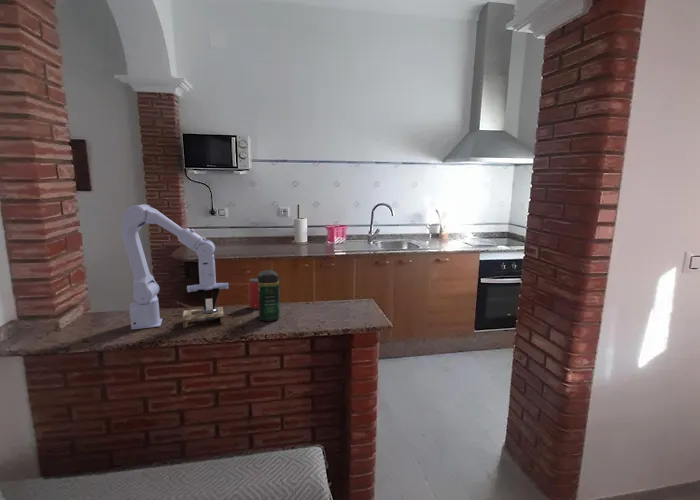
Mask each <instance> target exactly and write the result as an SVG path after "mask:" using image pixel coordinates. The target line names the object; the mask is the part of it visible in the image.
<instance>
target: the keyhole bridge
mask: <svg viewBox="0 0 700 500" xmlns="http://www.w3.org/2000/svg"><path fill="white" fill-rule="evenodd" d="M217 308H218V312H216V313H212V314H203V313H201V309H202V308H199V309H198V308H197V309H189V310H188V309H187V310H183V314H182V328H183V329H187V328H188V322H189V320H197V319H205V318H208V317H215V318H217V317H219V321H220V322H219V323H220V324H221V325H224V324H225V318H224V317H225V316H224V307H223V306H220V307H219V306H218V307H217Z"/></svg>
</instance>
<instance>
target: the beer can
mask: <svg viewBox="0 0 700 500" xmlns="http://www.w3.org/2000/svg"><path fill="white" fill-rule="evenodd" d="M248 281H249V282H248V286H247V287H248V288H247V289H248V307H249V308H250V309H252V310H259V298H258V277H253V278H250V279H249V280H248ZM255 305H256V306H255Z"/></svg>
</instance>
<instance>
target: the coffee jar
mask: <svg viewBox="0 0 700 500" xmlns="http://www.w3.org/2000/svg"><path fill="white" fill-rule="evenodd" d="M257 278H258V298H259V309H258V318H259V320H260V321H263V322H265V321H266V322H273V321H276V320H278V319H280V279H279V274H278V273H277V272H276V271H274V270H273V269H267V270H262V271H260V272H259V273H258V274H257Z"/></svg>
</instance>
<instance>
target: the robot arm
mask: <svg viewBox="0 0 700 500" xmlns="http://www.w3.org/2000/svg"><path fill="white" fill-rule="evenodd" d="M122 216H123V218H122V221H121V225H120V227H119V228H120V229H119V232H120V235H121V239H122V241H123V245H124V248H125V252H126V256H127V258H128V262H129V265H130V269H131V272H132V275H133V283H132V287H133V293H132V297H133V300H134V301H135V302H130V304H129V319H130V330H139V329H140V330H141V329H147V328H148V329H149V328H150V329H151V328H156V327H157V328H158V327H161V325H162V321H163V318H161V317H160V316H161V315H160V314H161V313H160V305H159V298H158V294H159V293H160V286H159V284H158V283H157V282H156V280H155V277H154V276H153V275H152V274H151V273H150V269H149V266H148V262H147V258H146V255H145V251H144V249H143V244H142V242H141V238H140V235H139V231H140V230H141V229H142V228H143V226H144V225H145V224H148V225H149V224H151V225H158V226H159V227H161V228H162V229H164V230H166V231H168V232H170V233H171V234H173V235H174V236H176V237H177V240H178V242H179V243H181V244H182V245H184V246H186V247H187V248H189V249H190V250H192V251H194V252H195V254H196V256H197V257H198V277H199V280H198V281H199V283H198V284H191V285H187V286H186V292H187V293H191V292H197V295H198V297H199V299H200V300H201V302H202V305H203V308H204V310H206V291H211V292H212V293H211V295H212V301H213V309H215V307H216V306H215V305H216V302H217V298H218V296H219V294H220V290H228V289H230V288H229V285H230V284H229V282H217V279H216V278H217V277H216V275H217V273H216V261H215V254H214V253H215V251H216V245H215V243H214V242H213V241H212V240H211V239H207V238H206V237H205V236H201V235H199V234H198V233H196V230H195V229H194V228H191V229H190V228H189V227H187V228H183V227H181V226H180V225H178V224H177V223H175V222H174V221H173V220H171V219H170V218H168V217H167V216H166V215H164V213H162V212H160V211H159V210H158V209H156V208H154V207H152V206H151V205H149V204H147V203H141V204H138V205H135V204H134V205H130V206H129V207H127V208H126V210H125V211H124V212H123V214H122Z"/></svg>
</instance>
